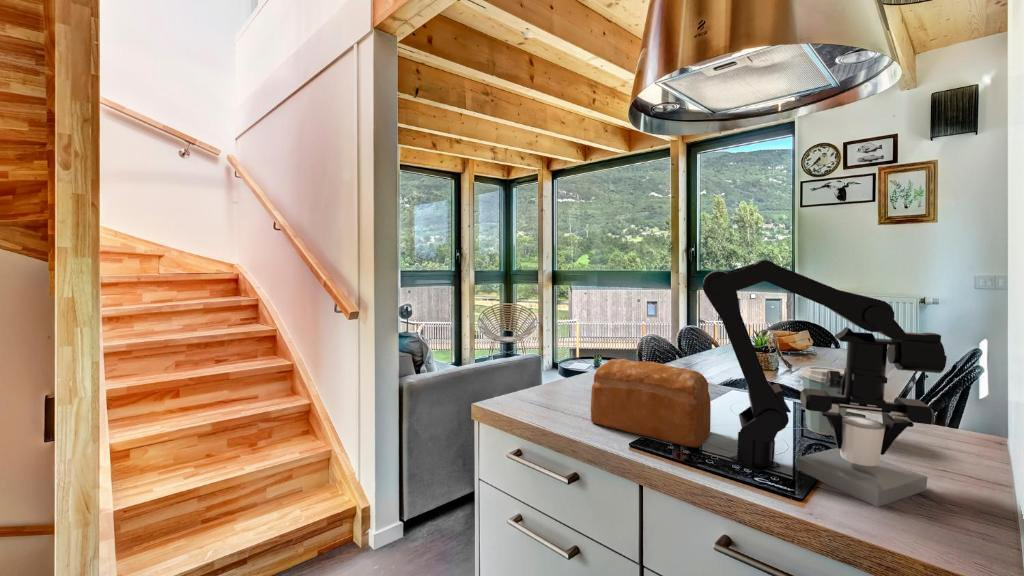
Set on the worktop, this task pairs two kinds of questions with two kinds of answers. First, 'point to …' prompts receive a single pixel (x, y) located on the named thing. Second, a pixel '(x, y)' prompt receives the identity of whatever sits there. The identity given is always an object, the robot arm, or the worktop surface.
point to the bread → (652, 401)
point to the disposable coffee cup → (817, 380)
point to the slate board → (863, 477)
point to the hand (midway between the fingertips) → (859, 450)
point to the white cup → (862, 440)
